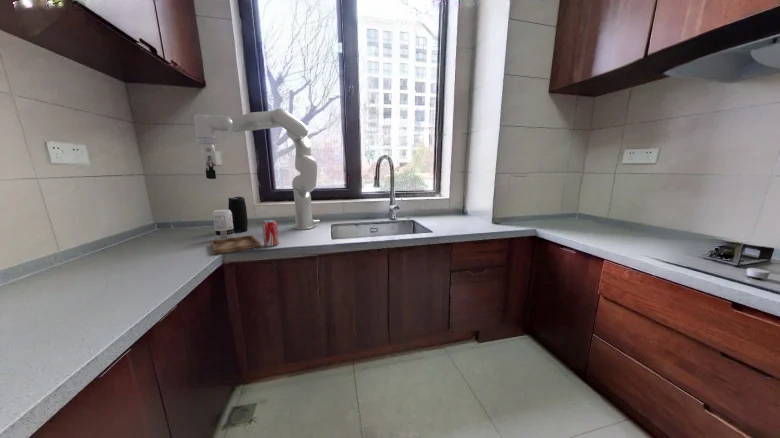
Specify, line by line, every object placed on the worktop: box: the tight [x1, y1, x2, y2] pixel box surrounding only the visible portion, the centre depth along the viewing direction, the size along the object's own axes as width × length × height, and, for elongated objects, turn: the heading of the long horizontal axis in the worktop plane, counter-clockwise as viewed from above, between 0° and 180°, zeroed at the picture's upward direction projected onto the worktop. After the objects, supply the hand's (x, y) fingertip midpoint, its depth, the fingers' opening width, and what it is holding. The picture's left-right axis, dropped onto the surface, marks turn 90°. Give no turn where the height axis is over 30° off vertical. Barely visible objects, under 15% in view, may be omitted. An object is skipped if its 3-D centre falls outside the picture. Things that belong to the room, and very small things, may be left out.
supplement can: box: [212, 208, 236, 240], centre depth 137 cm, size 8×8×15 cm
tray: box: [209, 234, 262, 256], centre depth 126 cm, size 18×18×2 cm
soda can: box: [261, 219, 279, 248], centre depth 128 cm, size 6×6×12 cm
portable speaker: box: [227, 196, 249, 234], centre depth 154 cm, size 9×9×20 cm
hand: (211, 178), depth 132 cm, fingers open, 9 cm apart
